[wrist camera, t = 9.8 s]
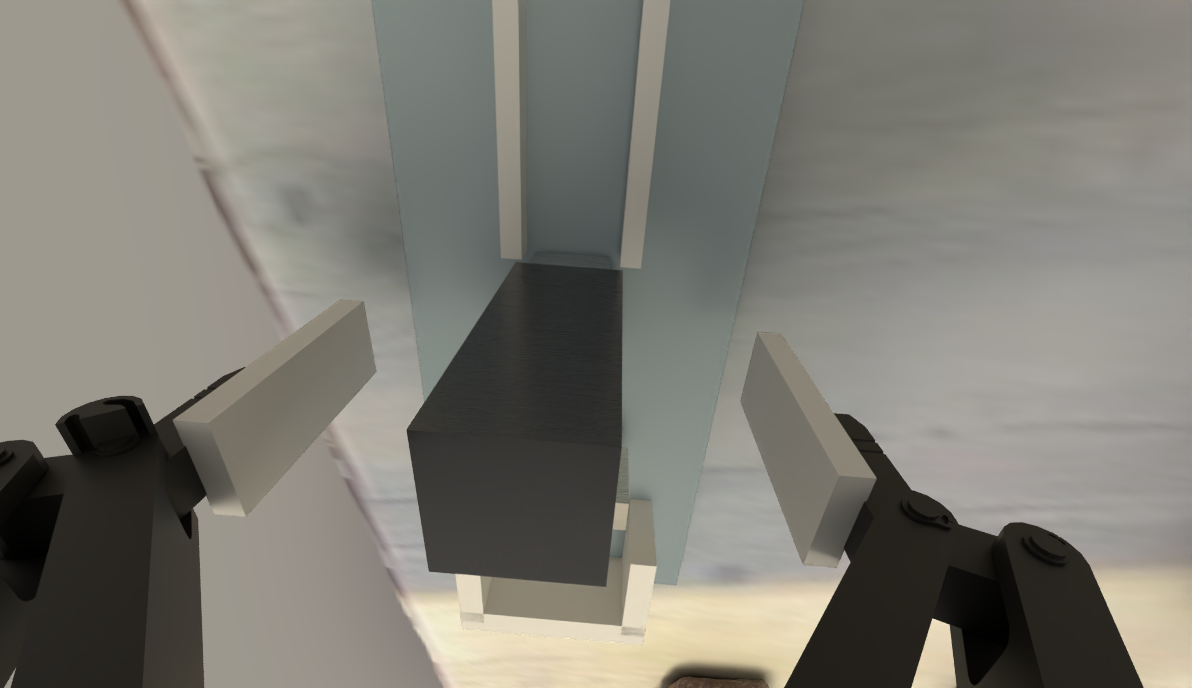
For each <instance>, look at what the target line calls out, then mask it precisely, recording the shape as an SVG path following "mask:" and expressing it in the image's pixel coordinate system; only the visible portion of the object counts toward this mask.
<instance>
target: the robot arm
mask: <svg viewBox="0 0 1192 688" xmlns="http://www.w3.org/2000/svg"><path fill="white" fill-rule="evenodd" d="M375 373H376V367H375V361H374V356H373V350H372V345H371V340H370V334H369V329H368V323H367V318H366V312H365V307H364V301H356V300H343V299H341V300H339V301H338V302H336V303H335V304H334V305H332V306H331V307H329V308H328V309H327V310H325V311H324V312H322V313H321V314H320V315H318V316H317V317H315V318H314V319H313V320H311V321H310V322H309V323H307V324H306V325H304V326H303V327H302V328H300V329H299V330H297V331H296V332H295V333H293V334H292V335H290V336H289V337H288V338H286V339H285V340H283V341H282V342H281V343H279V344H278V345H276V346H275V347H274V348H272V349H271V350H270V351H268V352H267V353H265V354H264V355H263V356H261V357H260V358H258V359H257V360H256V361H254V362H253V363H251V364H250V365H249V366H247V367H243V368H241V369H239V370H237V371H234V372H232V373H230V374H227V375H225V376H223V377H221V378H220V379H218V380H217V381H216V382H214V383H213V384H211V385H210V386H208V388H207V390H203V391H201V392H200V393H198V394H197V395H196V396H194V397H195V398H194V399H190V400H188V401H187V402H186V403H184V404H183V405H181V406H180V407H178V408H177V409H176V410H174V411H173V412H171V413H170V414H169V415H167V416H166V417H164V418H163V419H161V420H160V421H158V422H157V423H156V424H153V422H152V420H151V418H150V416H149V414H148V411H147V409H146V407H145V405H144V403H143V401H142V399H140V398H137V397H134V396H117V397H110V398H104V399H101V400H97V401H94V402H90V403H87V404H85V405H83V406H80V407H78V408H75V409H73V410H71V411H70V412H68V413H67V414H65V415H64V416H62V417H61V418H60V419H59V420H58V422H57V423H56V424H55V425H56V427H57V429H58V430H59V432H60V434H61V435H62V437H63V439H64V441H65V442H66V444H67V446H68V447H69V449H70V451H71V452H72V454H73V455H65V456H58V457H49V458H43V456H42V454H41V453H40V451H39V450H38V448H37V447H36V445H35V444H34V443H33V442H31V441H26V440H15V441H6V442H1V443H0V688H4V687H5V685H6V683H7V681H8V680H9V678H10V676H11V675H12V673H13V671H14V670H15V668H16V671H15V674H14V677H13V681H12V685H11V688H204V669H203V642H202V614H201V588H200V558H199V534H198V533H199V531H198V518H197V516H196V514H195V512H194V509H193V507H195V506H196V505H197V504H198V503H199V502H200V501H201V500H202V499H203V498H204V497H205V496H207V499H208V501H209V503H210V506H211V508H212V510H213V512H214V514H219V515H230V516H242V517H246V516H247V515H248V514H249V513H250V512H251V511H252V510H253V508H254V507H255V506H256V505H257V504H258V503H259V502H260V501H261V500H262V498H263V497H264V496H265V495H266V494H267V493H268V492H269V491H270V490H271V489H272V487H273V486H274V485H275V484H276V483H277V482H278V481H279V480H280V479H281V477H282V476H283V475H284V474H285V473H286V472H287V471H288V470H289V469H290V467H291V466H292V465H293V464H294V463H295V462H296V461H297V459H298V458H299V457H300V456H301V455H302V454H303V453H304V452H305V450H307V448H308V447H309V446H310V445H311V444H312V443H313V442H314V441H315V440H316V438H317V437H318V436H319V435H320V434H321V433H322V432H323V431H324V430H325V428H326V427H327V426H328V425H329V424H330V423H331V422H332V421H333V420H334V418H335V417H336V416H337V415H338V414H339V413H340V412H341V411H342V410H343V408H344V407H345V406H346V405H347V404H348V403H349V402H350V401H351V399H352V398H353V397H354V396H355V395H356V394H357V393H358V392H359V391H360V389H361V388H362V387H363V386H364V385H365V384H366V383H367V382H368V381H369V379H370V378H371V377H372V376H373V375H374V374H375ZM741 404H742V407H743V409H744V412H745V414H746V417H747V420H748V422H749V425H750V428H751V430H752V433H753V435H754V438H755V441H756V443H757V446H758V448H759V451H760V454H761V456H762V459H763V461H764V464H765V467H766V469H767V472H768V475H769V477H770V480H771V482H772V485H773V488H774V490H775V493H776V495H777V498H778V501H779V503H780V506H781V509H782V511H783V514H784V516H785V519H786V522H787V524H788V527H789V529H790V532H791V535H792V537H793V540H794V543H795V545H796V548H797V550H798V553H799V556H800V558H801V561H802V563H803V565H809V566H821V567H832V568H837V565H838V563H839V561H840V559H841V557H842V554H843V552H844V550H845V552H846V554H847V556H848V558H849V560H850V562H851V563H850V565H849V567H848V568H847V570H846V572H845V574H844V576H843V578H842V580H841V582H840V584H839V585H838V587H837V589H836V591H835V593H834V595H833V597H832V599H831V601H830V602H829V604H828V606H827V608H826V610H825V612H824V614H823V616H822V618H821V619H820V621H819V623H818V625H817V627H816V629H815V631H814V633H813V634H812V636H811V638H810V640H809V642H808V644H807V646H806V648H805V650H804V651H803V653H802V655H801V657H800V659H799V661H798V663H797V665H796V667H795V668H794V670H793V672H792V674H791V676H790V678H789V680H788V682H787V684H786V685H785V687H784V688H911V687H912V683H913V680H914V677H915V673H916V670H917V667H918V664H919V660H920V657H921V654H922V650H923V647H924V644H925V640H926V637H927V634H928V631H929V627H930V624H931V621H932V618H933V619H936V620H939V621H941V622H944V623H947V624H950V632H951V640H952V649H953V658H954V666H955V675H956V684H957V688H1143V685H1142V683H1141V681H1140V679H1139V676H1138V674H1137V672H1136V670H1135V667H1134V665H1133V663H1132V660H1131V658H1130V656H1129V654H1128V651H1127V649H1126V647H1125V645H1124V642H1123V640H1122V638H1121V636H1120V633H1119V631H1118V629H1117V626H1116V624H1115V622H1114V620H1113V617H1112V615H1111V613H1110V611H1109V608H1108V606H1107V604H1106V601H1105V599H1104V597H1103V595H1102V592H1101V590H1100V588H1099V586H1098V583H1097V581H1096V579H1095V577H1094V574H1093V572H1092V570H1091V567H1090V565H1089V564H1088V562H1087V561H1086V560H1085V558H1084V557H1083V555H1082V554H1081V553H1080V552H1079V551H1077V550H1076V549H1075V548H1074V547H1073V546H1072V545H1071V544H1069V543H1068V542H1067V541H1065V540H1064V539H1062V538H1061V537H1058V536H1057V535H1056V534H1054V533H1052V532H1050V531H1047V530H1045V529H1042V528H1040V527H1038V526H1034V525H1030V524H1026V523H1022V522H1018V523H1009V524H1008V525H1006V526H1004V528H1003V529H1002V531H1001V532H1000V534H999V535H998V536H995V535H991V534H988V533H985V532H981V531H978V530H975V529H972V528H968V527H965V526H962V525H959V524H958V522H957V521H956V519H955V518H954V516H953V515H952V513H951V512H950V511H949V510H948V509H946V508H945V507H944V506H943V505H942V504H941V503H939V502H937V501H936V500H934V499H932V498H931V497H929V496H927V495H924V494H921V493H919V492H916V491H912V490H911V489H910V487H909V486H908V485H907V483H906V482H905V481H904V479H903V478H902V477H901V475H900V474H899V472H898V471H897V470H896V468H895V467H894V466H893V464H892V463H891V461H890V460H889V459H888V457H887V456H886V455H885V454H883V450H882V449H881V448H880V446H879V445H878V444H877V443H875V440H874V438H873V437H872V435H871V434H870V433H869V431H868V430H867V429H866V427H865V426H863V425H862V424H861V423H859V422H858V421H857V420H856V419H854V418H853V417H852V416H850V415H848V414H835V413H833V412H832V410H831V408H830V407H829V405H828V404H827V402H826V401H825V399H824V398H823V396H822V395H821V393H820V392H819V390H818V389H817V387H816V386H815V384H814V383H813V381H812V380H811V378H810V377H809V375H808V374H807V372H806V371H805V369H804V368H803V366H802V365H801V363H800V362H799V360H798V359H797V357H796V356H795V354H794V353H793V351H792V350H791V348H790V347H789V345H788V344H787V342H786V341H785V339H784V338H783V336H782V334H779V333H766V332H757V336H756V340H755V344H754V348H753V352H752V356H751V360H750V364H749V368H748V372H747V376H746V380H745V384H744V389H743V393H742V397H741Z"/></svg>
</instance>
